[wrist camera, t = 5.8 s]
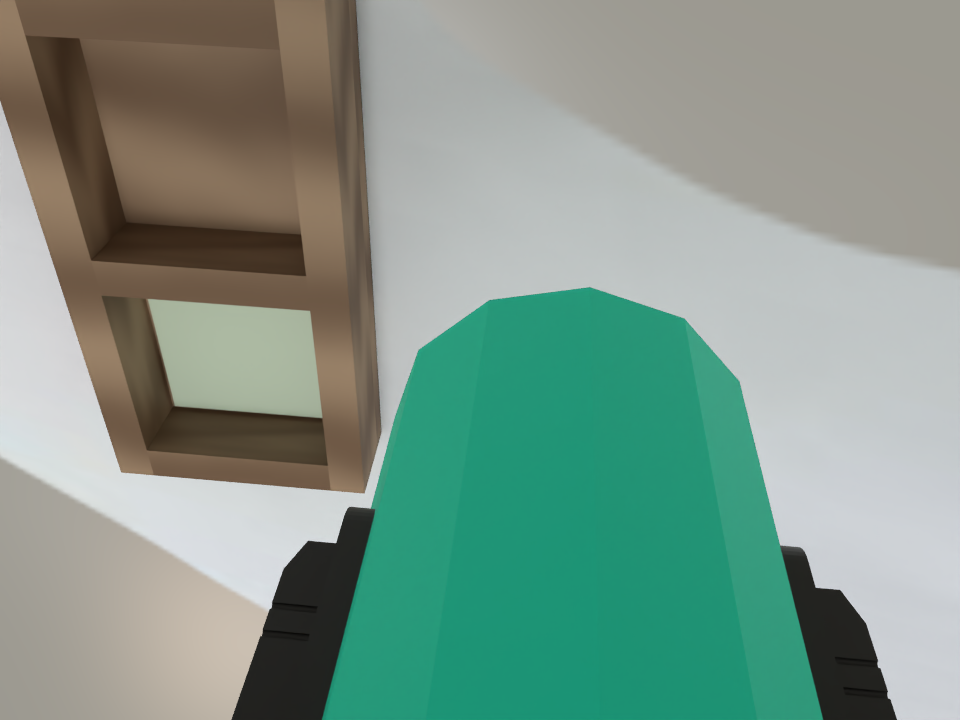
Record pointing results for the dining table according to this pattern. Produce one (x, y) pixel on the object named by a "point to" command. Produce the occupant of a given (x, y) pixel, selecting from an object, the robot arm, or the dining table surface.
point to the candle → (572, 532)
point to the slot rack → (207, 226)
